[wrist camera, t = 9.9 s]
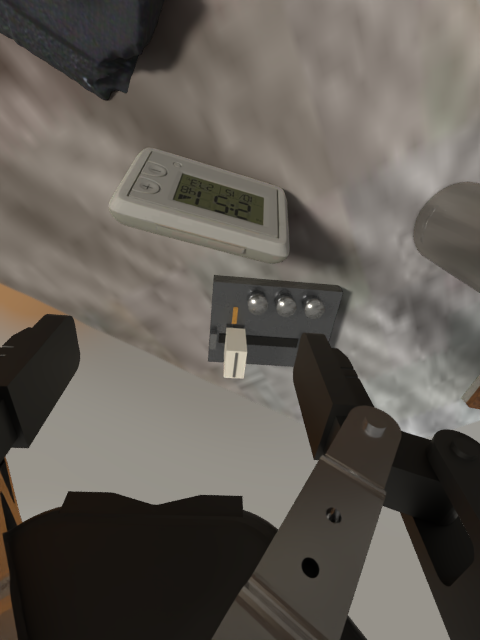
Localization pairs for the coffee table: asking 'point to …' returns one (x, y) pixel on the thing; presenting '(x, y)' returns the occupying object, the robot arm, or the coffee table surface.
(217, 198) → the digital clock
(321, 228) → the coffee table surface
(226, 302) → the console
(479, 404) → the display case
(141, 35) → the dark slate chunk
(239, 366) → the fader tab
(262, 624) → the robot arm
